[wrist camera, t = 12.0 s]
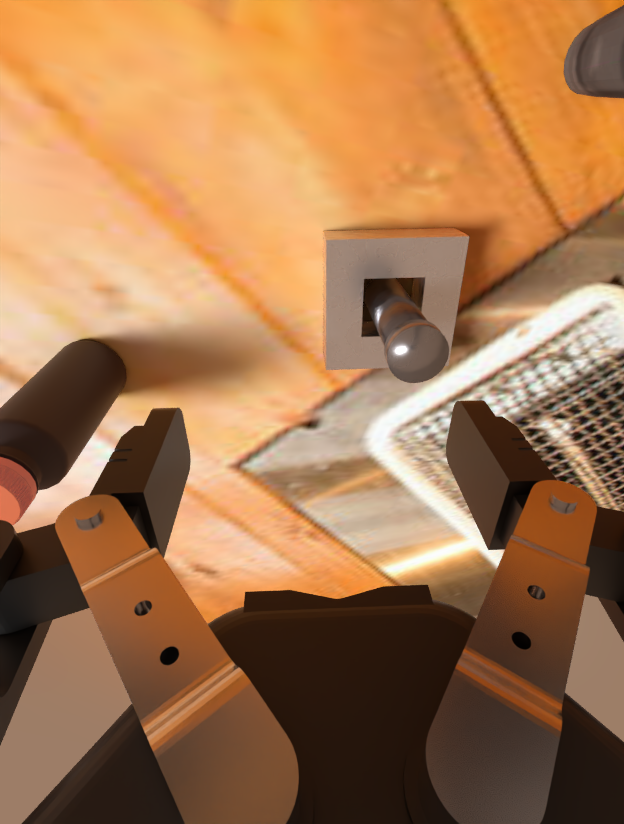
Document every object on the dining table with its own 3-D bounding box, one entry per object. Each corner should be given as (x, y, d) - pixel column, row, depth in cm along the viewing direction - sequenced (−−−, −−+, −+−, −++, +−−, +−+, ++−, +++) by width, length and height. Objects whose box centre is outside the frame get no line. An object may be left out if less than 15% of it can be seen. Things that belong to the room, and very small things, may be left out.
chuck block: (323, 230, 40) (326, 239, 37) (454, 227, 40) (469, 236, 37) (323, 352, 46) (326, 369, 43) (436, 349, 47) (448, 365, 43)
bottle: (89, 325, 44) (-37, 446, 27) (141, 374, 47) (58, 510, 30) (45, 363, 46) (-98, 497, 29) (98, 407, 49) (-3, 552, 32)
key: (361, 272, 42) (390, 327, 30) (407, 271, 42) (453, 325, 31) (359, 317, 45) (385, 383, 33) (403, 315, 45) (444, 381, 33)
